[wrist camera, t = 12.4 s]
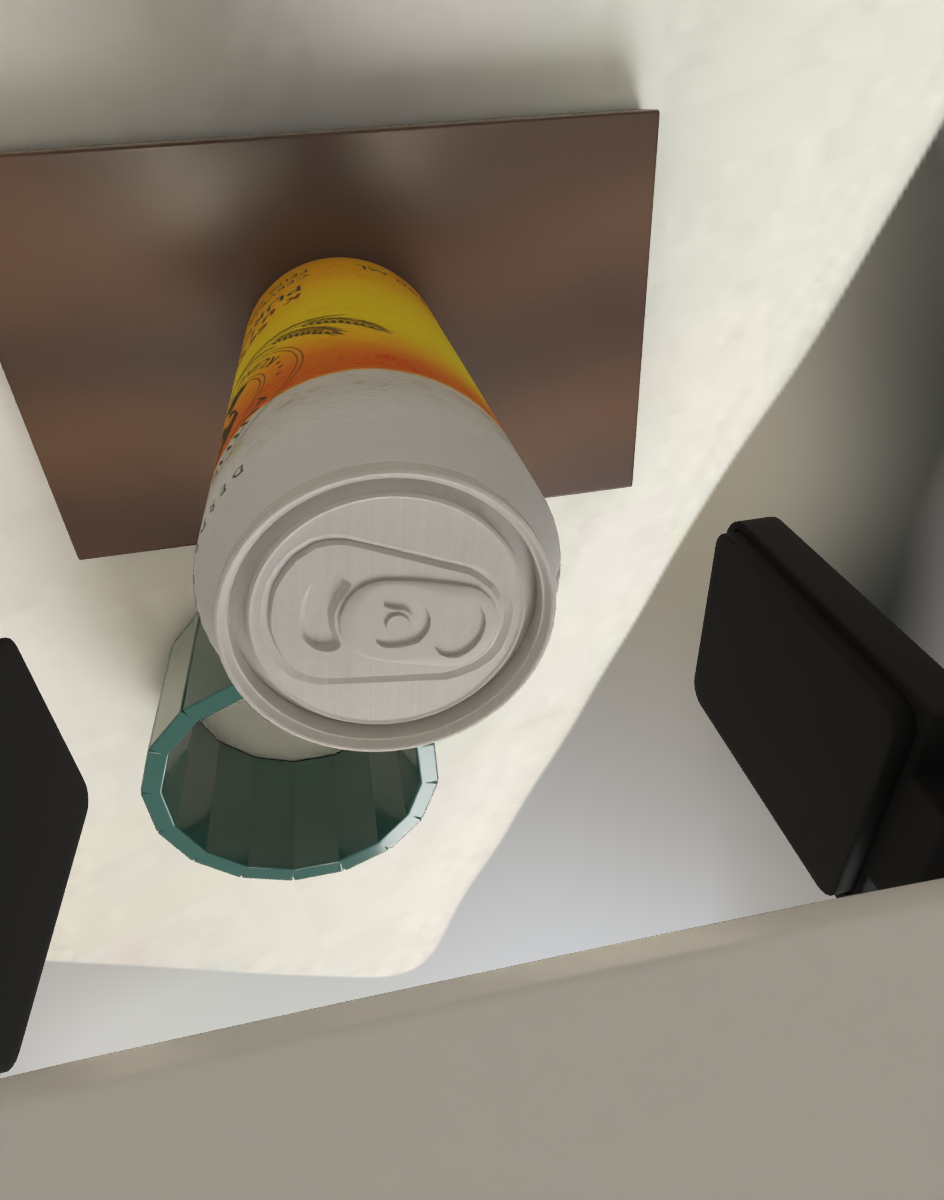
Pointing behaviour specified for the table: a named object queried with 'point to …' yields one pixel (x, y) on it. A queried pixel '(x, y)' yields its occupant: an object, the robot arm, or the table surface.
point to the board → (304, 234)
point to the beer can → (369, 523)
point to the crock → (269, 786)
